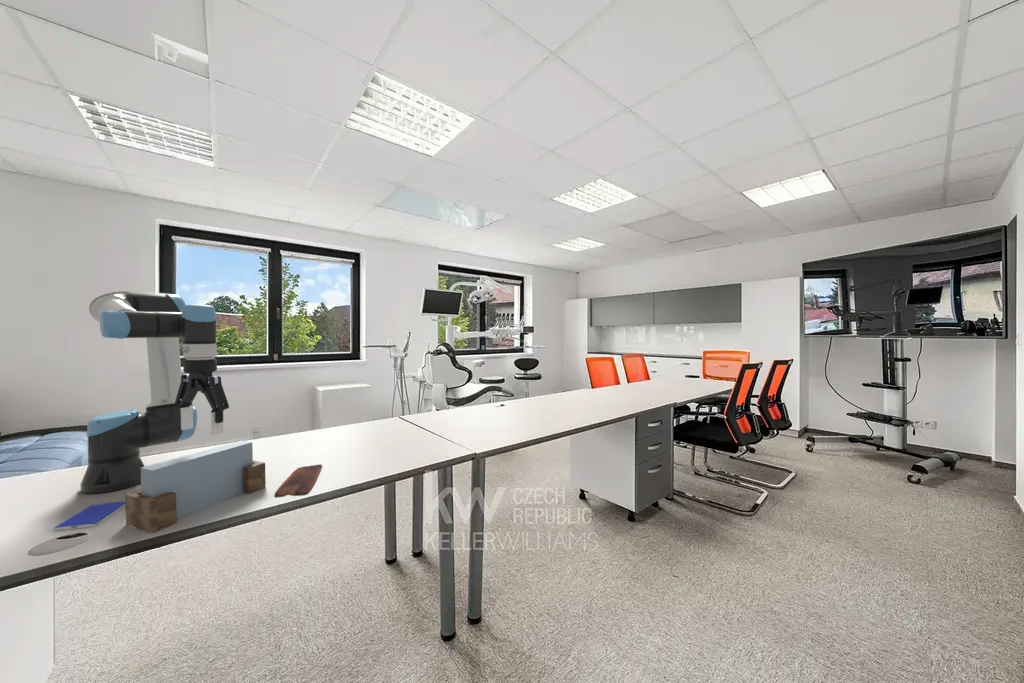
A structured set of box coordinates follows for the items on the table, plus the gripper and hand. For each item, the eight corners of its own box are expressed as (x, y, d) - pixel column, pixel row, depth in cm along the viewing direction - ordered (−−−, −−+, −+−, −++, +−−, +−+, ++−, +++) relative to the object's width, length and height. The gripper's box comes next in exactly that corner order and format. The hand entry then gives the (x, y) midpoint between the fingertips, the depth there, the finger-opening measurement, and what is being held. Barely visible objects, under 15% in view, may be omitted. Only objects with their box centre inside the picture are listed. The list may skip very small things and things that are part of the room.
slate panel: (142, 523, 100) (140, 467, 100) (242, 485, 125) (241, 440, 124) (153, 527, 99) (152, 470, 98) (253, 488, 123) (252, 442, 122)
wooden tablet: (296, 464, 142) (326, 458, 144) (297, 469, 142) (326, 464, 144) (271, 495, 116) (307, 488, 118) (272, 502, 116) (308, 495, 119)
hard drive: (90, 504, 108) (53, 527, 96) (126, 501, 111) (94, 522, 99) (90, 510, 108) (53, 533, 96) (126, 506, 111) (94, 528, 99)
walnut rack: (126, 524, 100) (125, 494, 99) (242, 481, 128) (241, 458, 127) (151, 533, 96) (150, 501, 95) (265, 487, 124) (265, 462, 123)
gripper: (158, 357, 111) (160, 430, 112) (214, 361, 102) (216, 439, 103) (188, 356, 118) (189, 424, 119) (243, 359, 109) (244, 432, 110)
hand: (202, 431), depth 111 cm, fingers open, 13 cm apart
